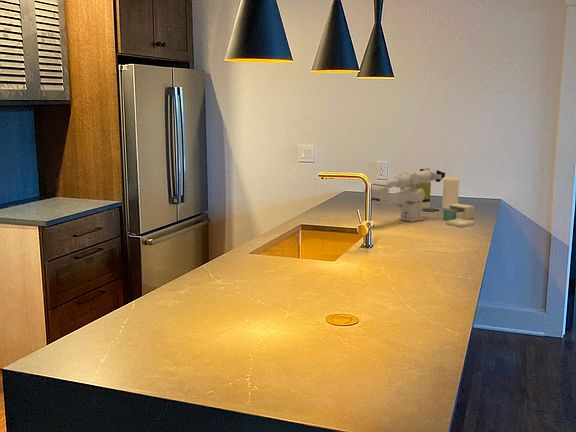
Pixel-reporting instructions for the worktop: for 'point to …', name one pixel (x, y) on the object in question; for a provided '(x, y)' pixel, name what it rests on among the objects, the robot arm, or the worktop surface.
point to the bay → (463, 211)
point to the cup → (450, 192)
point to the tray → (460, 222)
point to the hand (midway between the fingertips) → (438, 174)
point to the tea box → (426, 187)
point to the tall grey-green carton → (449, 214)
